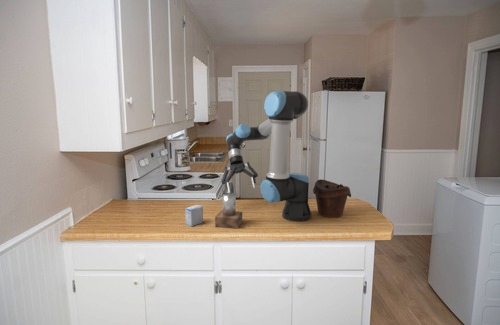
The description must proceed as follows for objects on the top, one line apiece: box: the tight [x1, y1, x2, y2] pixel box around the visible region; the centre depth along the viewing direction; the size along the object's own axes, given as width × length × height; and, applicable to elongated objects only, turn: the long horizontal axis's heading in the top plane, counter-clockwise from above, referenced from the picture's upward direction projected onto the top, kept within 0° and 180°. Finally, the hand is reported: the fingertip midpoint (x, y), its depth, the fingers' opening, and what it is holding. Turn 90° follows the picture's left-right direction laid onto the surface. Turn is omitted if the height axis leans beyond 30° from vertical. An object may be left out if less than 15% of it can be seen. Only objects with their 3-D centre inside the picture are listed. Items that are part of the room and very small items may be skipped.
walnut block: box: [214, 209, 243, 229], centre depth 171 cm, size 11×11×5 cm
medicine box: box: [184, 204, 204, 227], centre depth 171 cm, size 8×4×9 cm, turn 141°
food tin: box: [222, 192, 237, 216], centre depth 170 cm, size 7×7×10 cm
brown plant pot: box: [312, 179, 352, 218], centre depth 185 cm, size 18×20×18 cm
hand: (241, 191), depth 185 cm, fingers open, 13 cm apart
